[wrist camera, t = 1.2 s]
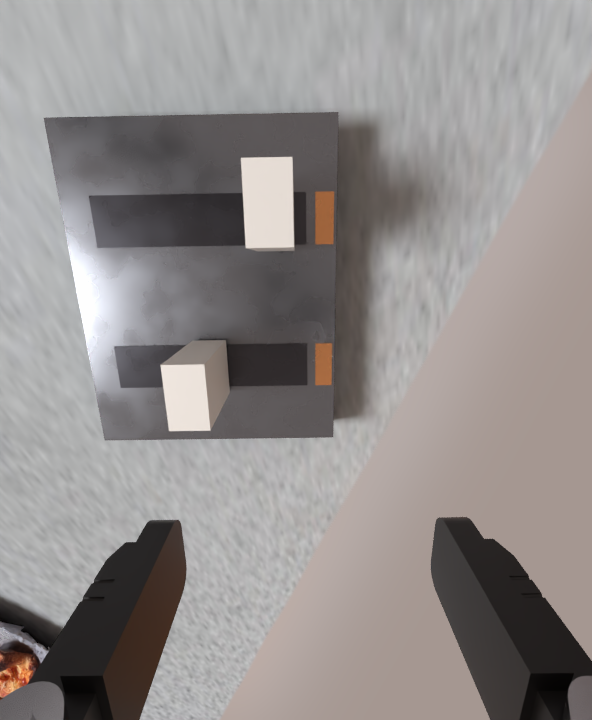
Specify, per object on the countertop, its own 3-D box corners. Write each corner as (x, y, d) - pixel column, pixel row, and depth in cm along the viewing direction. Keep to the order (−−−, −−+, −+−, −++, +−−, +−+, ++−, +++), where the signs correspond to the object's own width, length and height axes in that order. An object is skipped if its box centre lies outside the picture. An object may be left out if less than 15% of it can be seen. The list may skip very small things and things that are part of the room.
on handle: (258, 251, 23) (245, 248, 17) (255, 185, 22) (240, 157, 16) (294, 250, 23) (293, 247, 17) (293, 184, 22) (292, 156, 16)
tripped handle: (197, 392, 26) (169, 431, 20) (192, 340, 25) (160, 365, 19) (229, 392, 26) (210, 430, 20) (225, 340, 24) (204, 364, 19)
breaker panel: (123, 423, 30) (104, 440, 27) (74, 135, 24) (42, 117, 21) (329, 420, 30) (333, 437, 27) (333, 130, 24) (338, 111, 21)
